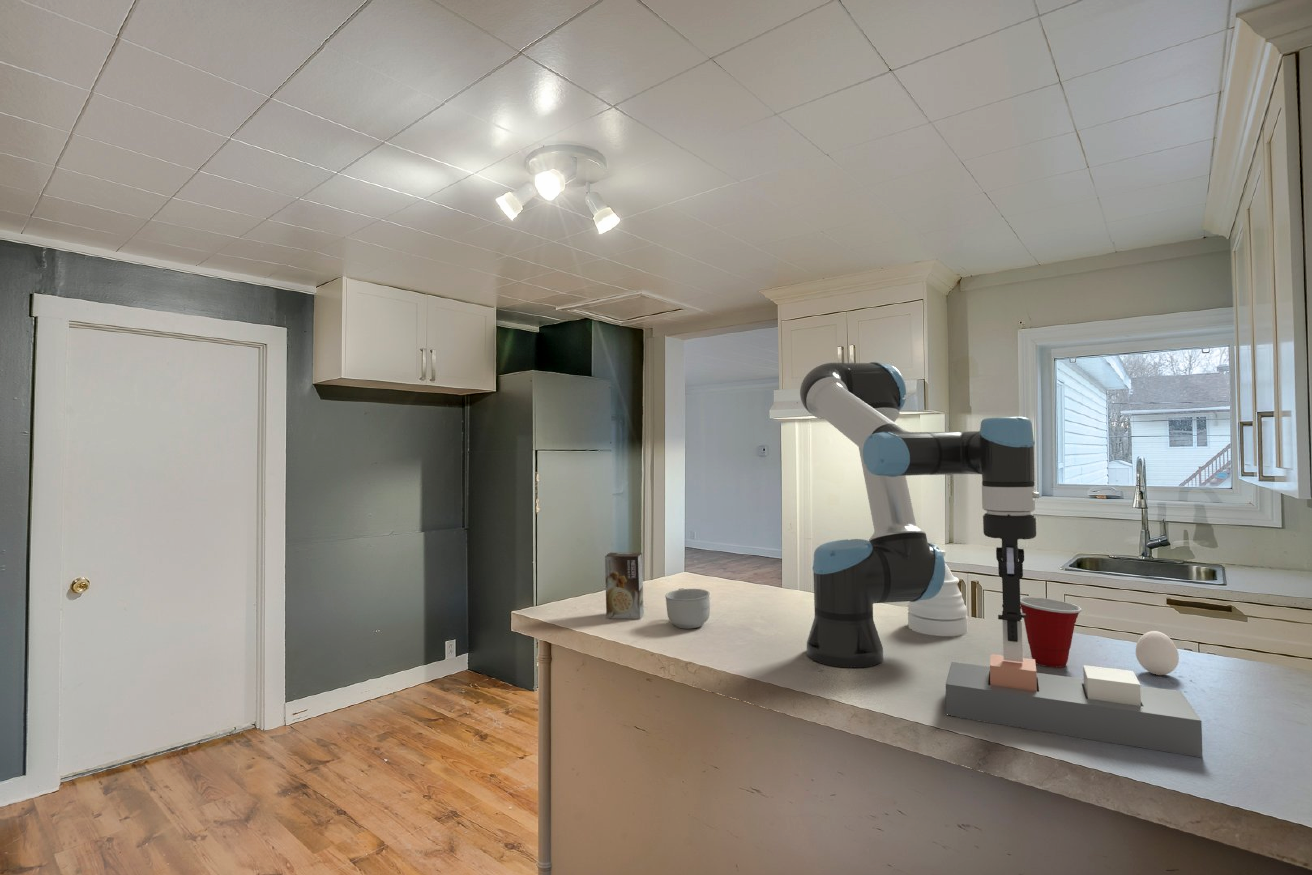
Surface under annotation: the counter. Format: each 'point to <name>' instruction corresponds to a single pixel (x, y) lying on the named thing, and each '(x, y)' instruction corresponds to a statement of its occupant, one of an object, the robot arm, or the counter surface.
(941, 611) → the honey pot
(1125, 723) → the key console
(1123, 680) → the offwhite key
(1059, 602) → the plastic cup
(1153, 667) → the egg
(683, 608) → the teacup
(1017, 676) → the terracotta key
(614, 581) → the coffee box
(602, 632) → the counter surface
